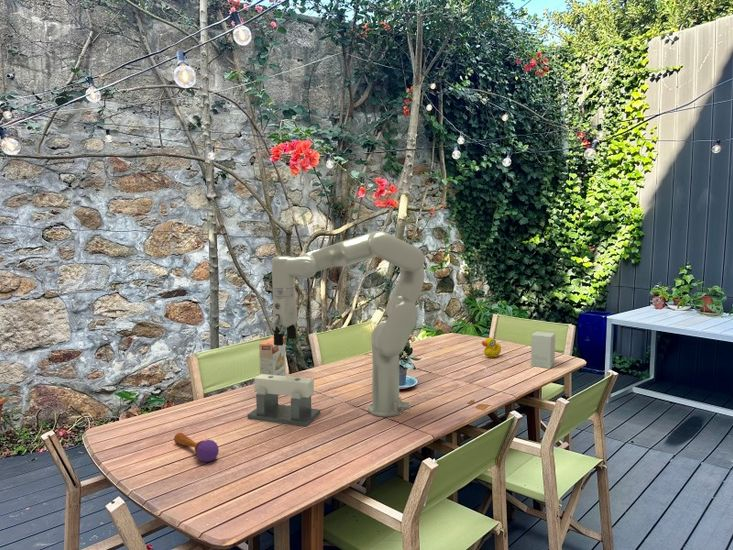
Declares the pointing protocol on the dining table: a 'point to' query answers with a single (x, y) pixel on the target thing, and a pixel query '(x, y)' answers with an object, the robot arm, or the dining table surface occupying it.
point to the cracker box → (272, 358)
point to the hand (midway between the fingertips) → (285, 341)
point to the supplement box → (543, 349)
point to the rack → (283, 409)
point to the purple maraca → (199, 447)
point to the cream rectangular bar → (284, 385)
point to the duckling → (491, 348)
